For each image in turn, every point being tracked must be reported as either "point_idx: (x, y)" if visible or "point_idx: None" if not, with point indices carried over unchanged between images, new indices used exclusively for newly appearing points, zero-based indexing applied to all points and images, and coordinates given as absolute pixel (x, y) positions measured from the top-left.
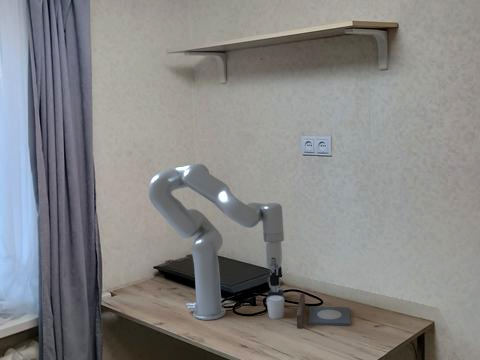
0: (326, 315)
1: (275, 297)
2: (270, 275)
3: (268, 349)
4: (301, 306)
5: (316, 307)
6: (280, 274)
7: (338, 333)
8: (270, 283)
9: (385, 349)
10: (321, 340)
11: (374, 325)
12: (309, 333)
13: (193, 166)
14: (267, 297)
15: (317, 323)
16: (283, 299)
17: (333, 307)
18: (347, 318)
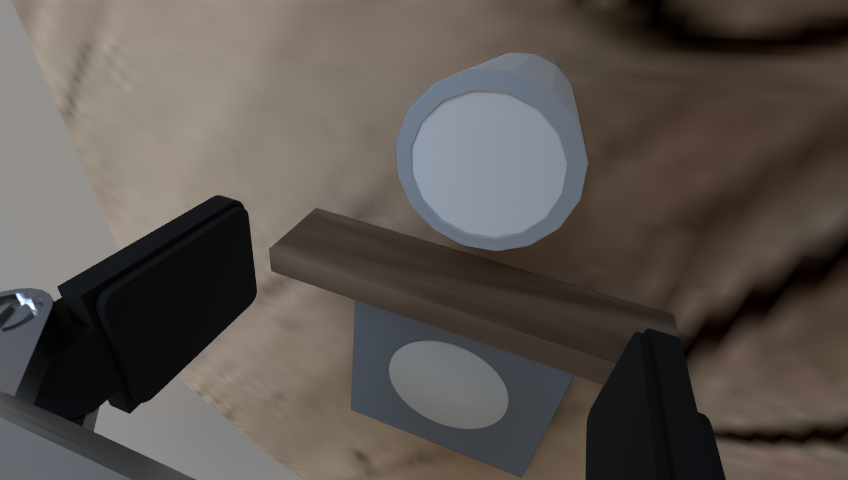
0: (433, 373)
1: (515, 174)
2: (31, 290)
3: (67, 22)
4: (404, 311)
5: (559, 375)
6: (590, 442)
7: (288, 343)
8: (200, 204)
9: (209, 400)
10: None
11: (364, 454)
12: None
13: None
14: (531, 85)
15: (357, 309)
16: (448, 234)
17: (537, 434)
18: (397, 421)
